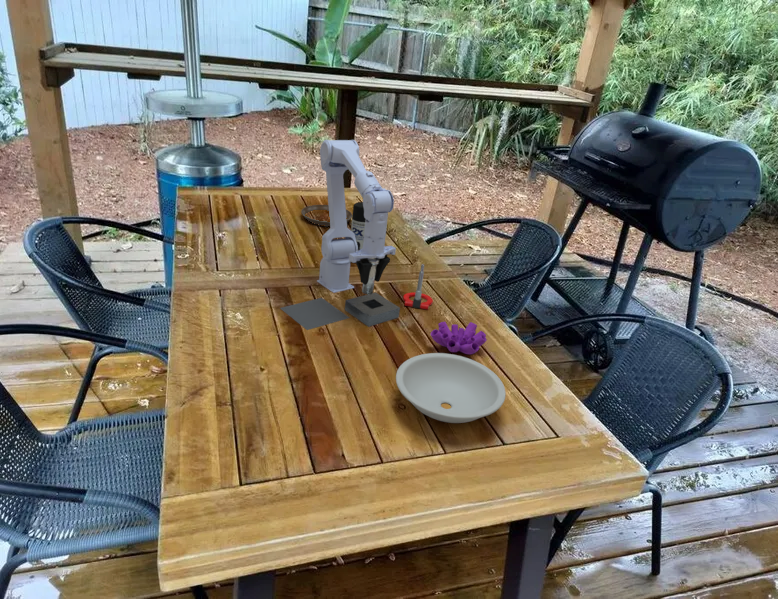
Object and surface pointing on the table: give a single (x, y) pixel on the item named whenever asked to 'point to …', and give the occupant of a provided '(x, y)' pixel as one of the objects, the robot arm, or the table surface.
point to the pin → (371, 276)
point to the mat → (314, 313)
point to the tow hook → (418, 295)
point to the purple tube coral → (459, 338)
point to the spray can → (358, 223)
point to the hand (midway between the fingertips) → (369, 281)
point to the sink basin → (450, 387)
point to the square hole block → (372, 309)
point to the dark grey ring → (321, 207)
